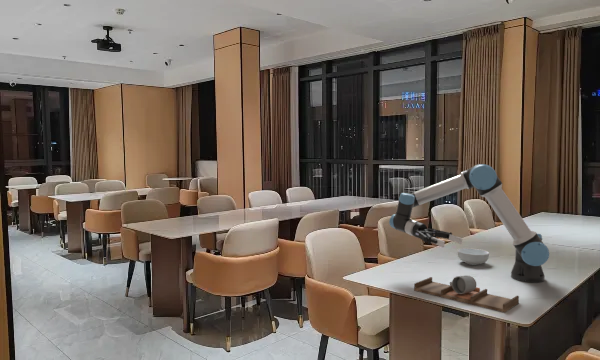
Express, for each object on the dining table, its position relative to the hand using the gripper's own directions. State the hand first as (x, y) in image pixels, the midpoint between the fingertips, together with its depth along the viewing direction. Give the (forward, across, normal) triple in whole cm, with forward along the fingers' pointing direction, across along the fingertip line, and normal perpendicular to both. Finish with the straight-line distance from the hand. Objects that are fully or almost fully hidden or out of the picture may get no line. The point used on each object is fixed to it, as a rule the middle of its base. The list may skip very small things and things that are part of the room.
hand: (452, 242), depth 208 cm
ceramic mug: (+10, +4, -18) cm, 22 cm away
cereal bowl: (-18, -52, -24) cm, 61 cm away
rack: (+13, +4, -20) cm, 24 cm away
